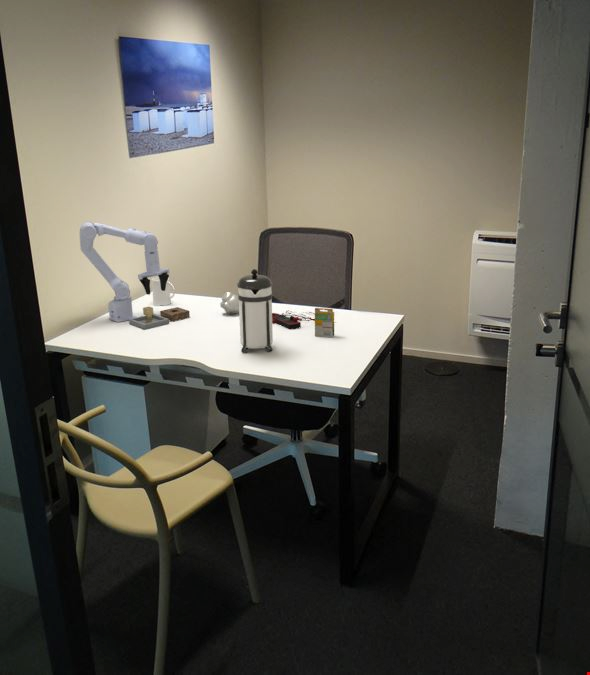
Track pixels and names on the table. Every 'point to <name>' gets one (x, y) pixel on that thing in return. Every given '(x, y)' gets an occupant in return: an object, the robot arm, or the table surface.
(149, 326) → the tray
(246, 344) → the coffee press
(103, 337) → the table surface
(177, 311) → the block
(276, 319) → the digital clamp meter
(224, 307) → the white piggy bank
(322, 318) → the crayon box
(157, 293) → the mug
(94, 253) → the robot arm
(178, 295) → the table surface
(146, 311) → the pin
